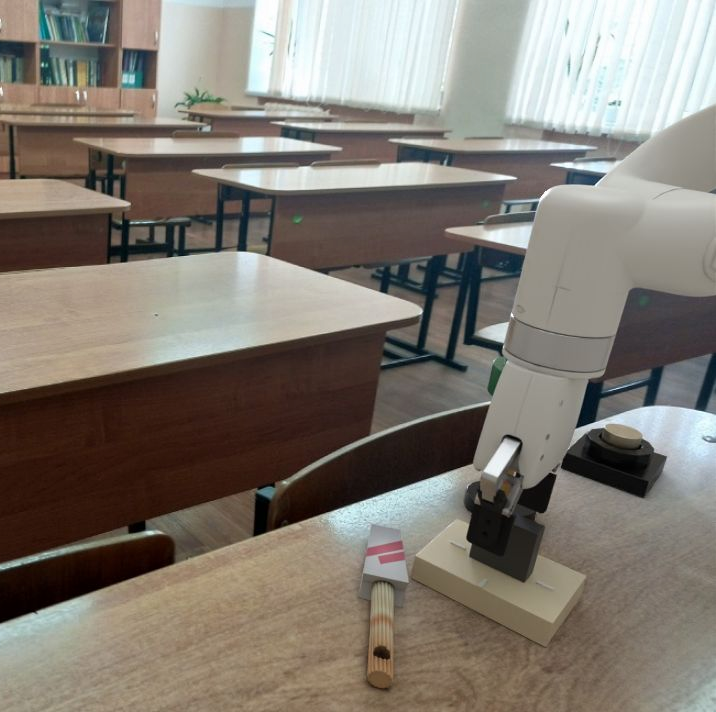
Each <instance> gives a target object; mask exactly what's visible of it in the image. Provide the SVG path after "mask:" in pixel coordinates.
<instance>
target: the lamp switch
mask: <svg viewBox="0 0 716 712" xmlns="http://www.w3.org/2000/svg"><path fill="white" fill-rule="evenodd" d="M603 429H604V427H597V428H591V429H590V430H586V431H585V432H584V433H583V434H582V435H580V437H579V438H578V439H577V440H576V441H575V442H574V443H573V444H572V445H570V446H569V448H568V451H567V453H566V455H565V456H564V458H563V459H562V461H561V463H560V469H563V470H566V471H568V472H570V473H574V474H576V475H579V476H582V477H584V478H587V479H590V480H593V481H596V482H598V483H601V484H604V485H606V486H609V487H612V488H615V489H618V490H620V491H623V492H625V493H629V494H632V495H634V496H637V497H640V498H643V499H644V498H645V497H646V495H647V494H648V493H649V491H650V490H651V488H652V487H653V485H654V484H655V483H656V481H657V480H658V479H659V477H660V476H661V474H662V473H663V471H664V467H665V465H666V463H667V460H668V456H667V455H664V454H661V453H658V452H655V447H653V446H652V444H651V442H649V441H648V440H646V439H644V438H642V440H641V443H640V446H639V449H638V450H625V449H620V448H617V447H614V446H610V445H608V444H607V443H605V442H603V441H601V436H602V433H603Z"/></svg>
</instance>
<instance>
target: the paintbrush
mask: <svg viewBox="0 0 716 712" xmlns="http://www.w3.org/2000/svg"><path fill="white" fill-rule="evenodd" d="M363 562H364V563H363V568H362V574H361V578H360V584H359V589H358V590H359V591H358V597H357V598H358V599H363V600H367V601H370V620H369V622H370V623H369V638H368V639H369V640H368V652H367V653H368V654H367V655H368V657H367V669H366V671H367V672H366V677H367V681H368V682H369V684H371V685H373V687H375V688H378V689H385V688H387V689H388V688H389V687H391V686H392V685H393V683H394V610H395V609H394V607H398V608H403V607H404V601H405V600H404V599H405V593H406V590H407V588H408V586H409V583H410V581H409V575H408V570H407V562H406V556H405V550H404V544H403V538H402V531H401V529H400V528H395V527H389V526H383V525H380V524H374V523H371V524H370V529H369V535H368V540H367V546H366V552H365V557H364V561H363Z"/></svg>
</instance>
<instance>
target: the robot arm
mask: <svg viewBox="0 0 716 712" xmlns="http://www.w3.org/2000/svg"><path fill="white" fill-rule="evenodd" d="M714 190H716V102H715V103H713V104H711V105H709V106H707V107H705V108H702V109H700V110H698V111H696V112H694V113H692V114H689V115H686V116H685V117H684V118H682V119H679V120H677V121H676V122H674V123H672V124H670V125H668V126H667V127H665V128H663V129H662V130H660V131H659V132H657V133H656V134H654V135H652V136H651V137H650V138H648V139H647V140H645V141H644V142H643V143H641V144H640V145H639V146H638V147H636V149H634V150H633V151H632V152H630V153H629V154H628V155H627V156H626V157H625V158H623V159H622V160H621V161H620V162H619V163H618V164H616V165H614V167H613V168H612V169H611V170H610V171H608V172H607V173H606V174H605V175H604V176H603V177H602V178H601V179H599V181H598V182H597V183H595V185H591V184H590V185H589V184H559V185H555V186H552V187H550V188H548V189H547V190H546V191H545V192H544V193H543V194H542V196H541V197H540V199H539V201H538V204H537V207H536V210H535V214H534V218H533V224H532V227H531V230H530V235H529V239H528V244H527V247H526V252H525V256H524V261H523V264H522V268H521V273H520V277H519V281H518V284H517V288H516V293H515V296H514V300H513V305H512V309H511V313H510V316H509V320H508V325H507V328H506V333H505V336H504V337H505V338H504V341H503V346H502V349H501V354H502V356H503V357H505V358H507V359H508V360H507V362H506V364H505V366H504V368H503V371H502V373H501V376H500V378H499V381H498V383H497V386H496V388H495V391H494V394H493V396H492V398H491V400H490V403H489V406H488V410H487V413H486V416H485V419H484V421H483V422H484V423H483V426H482V430H481V432H480V436H479V439H478V443H477V447H476V450H475V453H474V457H473V460H472V466H473V468H474V470H475V471H476V472H481V475H480V480H479V481H480V485H479V489H478V488H477V492H478V493H477V495H476V497H475V503H474V507H473V511H472V513H471V516H470V520H469V522H468V524H469V527H468V531H467V535H466V539H467V541H468V542H469V543H472V544H474V545H476V546H478V547H480V548H482V549H484V550H487V551H489V552H491V553H493V554H495V555H497V556H503V555H504V554H505V553H506V552H507V548H508V545H509V541H510V538H511V534H512V530H513V527H514V523H515V519H516V516H517V514H515V513H512V512H513V510H514V508H515V506H516V504H519V505H521V506H524V507H526V508H529V509H531V510H533V511H536V512H537V513H539V514H544V513H546V511H547V510H548V507H549V504H550V501H551V498H552V494H553V491H554V487H555V483H556V480H557V477H558V474H556V473H557V471H558V469H559V467H560V466H561V463H562V460H563V458H564V456H565V455H566V453H567V451H568V449H569V448H570V447H571V443H572V441H573V438H574V434H575V431H576V429H577V428H576V427H577V424H578V421H579V417H580V414H581V409H582V406H583V403H584V398H585V395H586V390H587V388H588V387H587V386H588V384H589V381H590V380H591V379H598V378H601V377H603V375H605V372H606V370H607V366H608V362H609V359H610V355H611V353H612V350H613V346H614V342H615V339H616V336H617V332H618V329H619V325H620V322H621V320H622V316H623V313H624V309H625V306H626V302H627V300H628V296H629V293H630V291H631V290H633V289H645V290H651V291H656V292H661V293H668V294H671V295H672V294H673V295H677V296H682V297H691V298H702V297H703V298H704V297H712V296H716V193H711V192H712V191H714ZM509 470H512V471H514V473H515V474H514V476H512V475H510V474H507V472H508V471H509ZM502 483H505V484H507V485H510V486H512V490H511V492H510V494H509V496H508V498H506V494H505V491H503V490H500V489H501V487H502Z"/></svg>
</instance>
